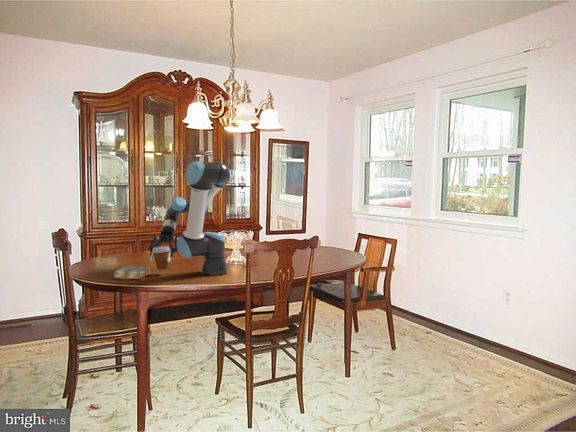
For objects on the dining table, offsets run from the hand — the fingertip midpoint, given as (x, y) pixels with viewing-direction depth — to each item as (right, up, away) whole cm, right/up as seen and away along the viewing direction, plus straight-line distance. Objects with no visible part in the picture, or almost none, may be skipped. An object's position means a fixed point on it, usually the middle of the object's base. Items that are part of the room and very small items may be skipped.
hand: (159, 261), depth 235 cm
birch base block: (-14, -8, -3) cm, 16 cm away
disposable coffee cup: (+1, -5, +3) cm, 6 cm away
